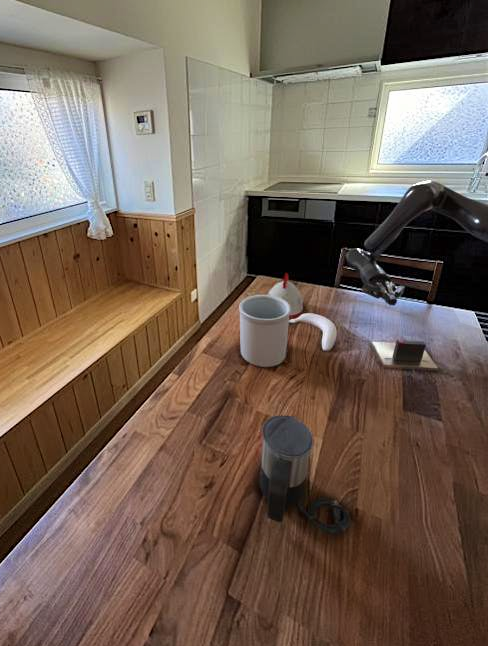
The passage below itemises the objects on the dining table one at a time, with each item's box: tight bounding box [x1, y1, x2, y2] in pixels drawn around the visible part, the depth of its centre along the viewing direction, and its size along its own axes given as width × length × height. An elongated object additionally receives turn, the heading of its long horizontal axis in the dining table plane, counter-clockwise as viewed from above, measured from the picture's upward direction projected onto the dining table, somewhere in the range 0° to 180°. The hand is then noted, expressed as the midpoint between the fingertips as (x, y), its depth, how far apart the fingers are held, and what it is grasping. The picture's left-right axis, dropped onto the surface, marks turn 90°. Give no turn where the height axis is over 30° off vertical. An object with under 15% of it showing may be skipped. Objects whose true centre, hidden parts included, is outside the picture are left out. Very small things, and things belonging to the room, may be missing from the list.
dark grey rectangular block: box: [393, 339, 427, 362], centre depth 96 cm, size 7×2×6 cm, turn 80°
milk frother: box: [259, 414, 352, 535], centre depth 62 cm, size 14×16×15 cm
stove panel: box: [370, 341, 439, 373], centre depth 99 cm, size 14×14×2 cm
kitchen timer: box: [266, 272, 304, 320], centre depth 126 cm, size 14×14×15 cm
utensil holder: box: [238, 294, 290, 368], centre depth 102 cm, size 15×15×18 cm
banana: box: [289, 312, 338, 352], centre depth 113 cm, size 5×19×15 cm
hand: (393, 302), depth 101 cm, fingers closed
